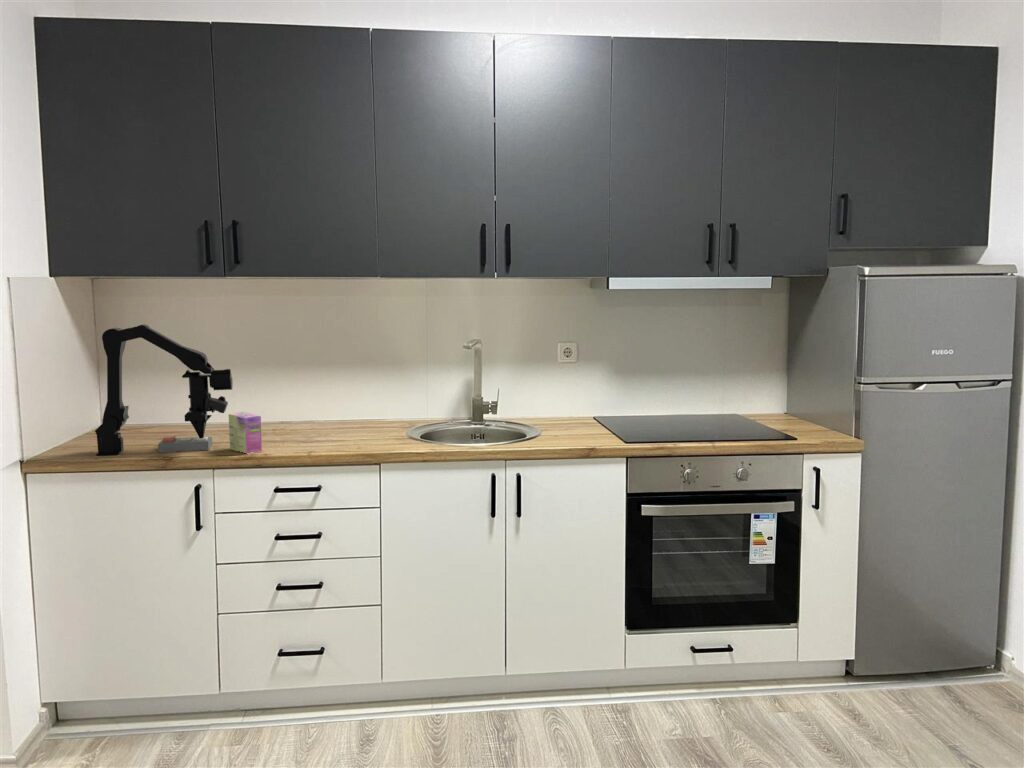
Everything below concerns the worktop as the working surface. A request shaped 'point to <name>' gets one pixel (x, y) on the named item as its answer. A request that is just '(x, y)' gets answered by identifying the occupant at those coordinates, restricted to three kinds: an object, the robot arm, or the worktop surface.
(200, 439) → the cream button
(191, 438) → the green button
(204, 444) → the button panel
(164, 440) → the red button
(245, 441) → the box
